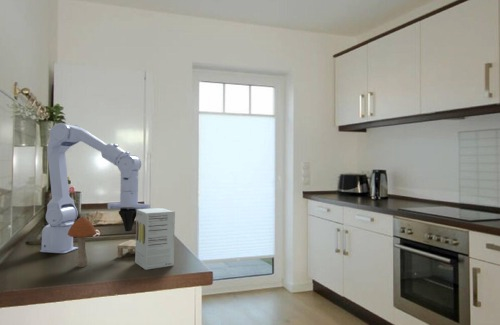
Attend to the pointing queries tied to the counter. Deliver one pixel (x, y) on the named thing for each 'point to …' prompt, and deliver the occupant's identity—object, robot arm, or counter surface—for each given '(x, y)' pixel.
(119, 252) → the footstool
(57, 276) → the counter surface
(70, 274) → the counter surface
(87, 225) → the mushroom
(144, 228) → the supplement box
